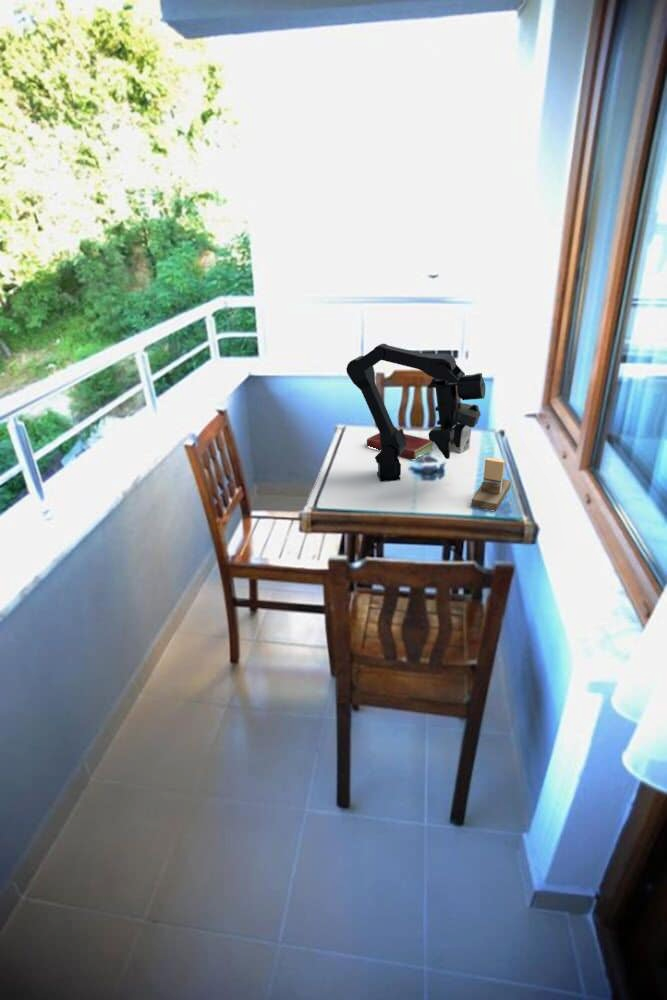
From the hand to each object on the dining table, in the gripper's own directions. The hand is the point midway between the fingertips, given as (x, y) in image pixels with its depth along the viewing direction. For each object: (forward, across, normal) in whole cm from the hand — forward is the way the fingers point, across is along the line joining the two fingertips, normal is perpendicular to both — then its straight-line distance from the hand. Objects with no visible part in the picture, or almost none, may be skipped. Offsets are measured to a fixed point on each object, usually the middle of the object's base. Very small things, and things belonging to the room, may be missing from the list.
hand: (453, 452), depth 148 cm
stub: (+7, -2, -12) cm, 14 cm away
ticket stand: (+13, -2, -11) cm, 17 cm away
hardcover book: (+8, +21, +28) cm, 36 cm away
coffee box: (+10, +30, +11) cm, 33 cm away
